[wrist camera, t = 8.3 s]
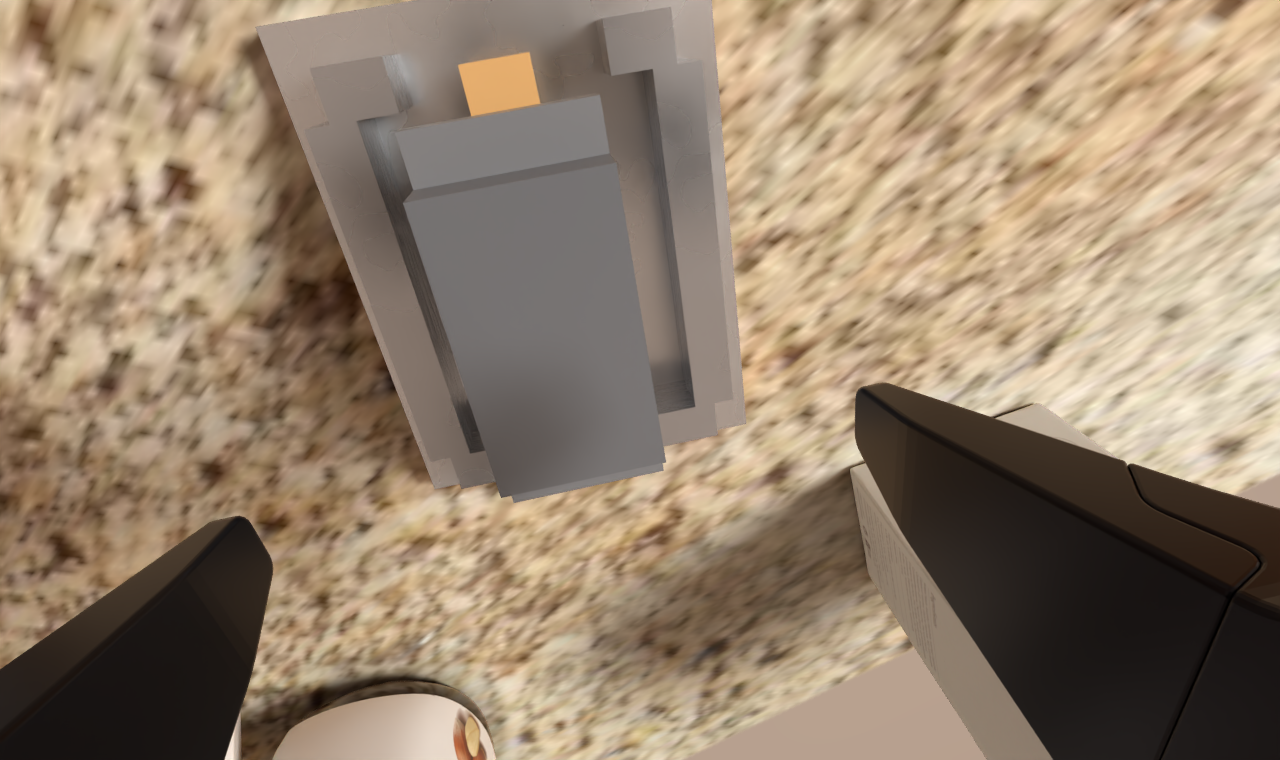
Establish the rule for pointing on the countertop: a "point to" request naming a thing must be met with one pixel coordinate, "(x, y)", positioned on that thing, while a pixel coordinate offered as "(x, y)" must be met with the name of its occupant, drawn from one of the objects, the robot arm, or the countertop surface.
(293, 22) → the tray
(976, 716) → the small box
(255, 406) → the countertop surface
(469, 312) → the block
